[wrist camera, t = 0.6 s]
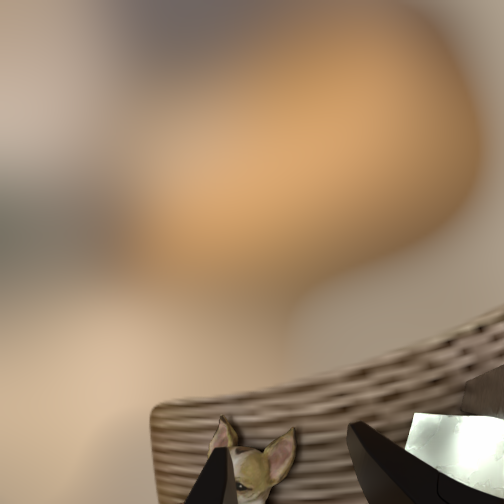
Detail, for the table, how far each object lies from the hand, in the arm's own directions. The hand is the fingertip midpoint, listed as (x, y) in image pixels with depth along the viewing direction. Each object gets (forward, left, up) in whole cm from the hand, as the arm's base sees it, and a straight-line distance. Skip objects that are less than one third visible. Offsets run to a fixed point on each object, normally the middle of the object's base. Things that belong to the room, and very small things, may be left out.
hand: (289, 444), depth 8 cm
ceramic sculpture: (-16, +4, -24) cm, 29 cm away
